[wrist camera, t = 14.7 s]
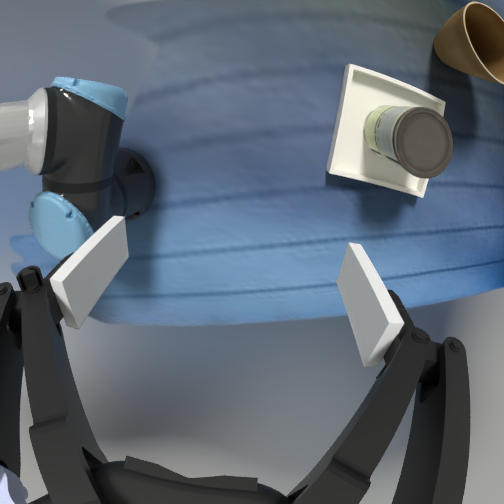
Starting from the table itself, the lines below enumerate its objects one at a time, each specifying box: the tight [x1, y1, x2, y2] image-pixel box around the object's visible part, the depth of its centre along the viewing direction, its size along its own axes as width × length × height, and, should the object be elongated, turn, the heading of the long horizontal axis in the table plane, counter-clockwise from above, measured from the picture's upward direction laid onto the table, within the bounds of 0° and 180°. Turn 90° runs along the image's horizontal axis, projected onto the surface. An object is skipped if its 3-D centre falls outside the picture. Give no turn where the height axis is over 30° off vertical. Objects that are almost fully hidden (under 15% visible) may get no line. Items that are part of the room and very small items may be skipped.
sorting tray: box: [326, 64, 446, 198], centre depth 41 cm, size 20×20×3 cm
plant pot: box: [434, 2, 504, 84], centre depth 24 cm, size 15×15×16 cm
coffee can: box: [363, 105, 453, 179], centre depth 36 cm, size 10×10×14 cm
